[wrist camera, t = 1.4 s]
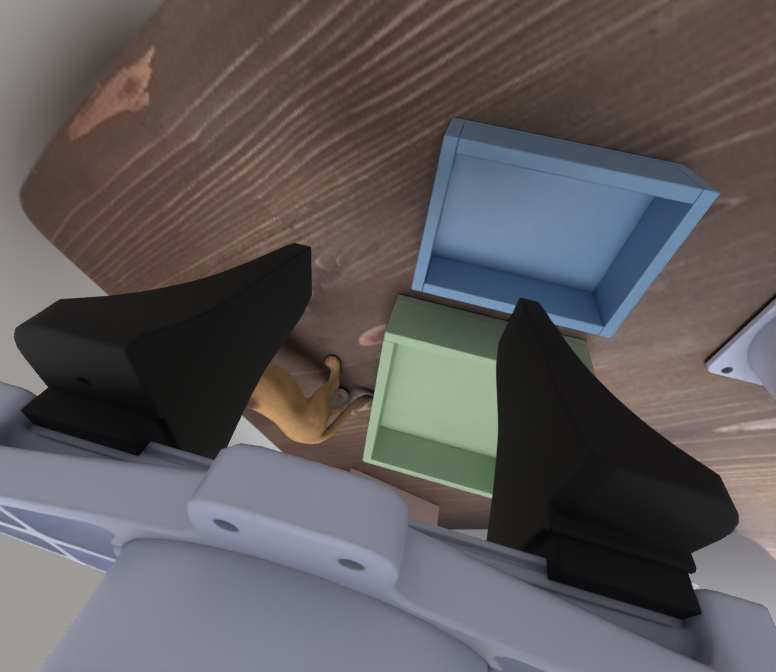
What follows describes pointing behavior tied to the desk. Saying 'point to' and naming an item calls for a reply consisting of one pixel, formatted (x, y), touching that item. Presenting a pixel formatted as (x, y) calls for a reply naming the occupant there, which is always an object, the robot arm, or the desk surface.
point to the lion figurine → (302, 404)
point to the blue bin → (552, 224)
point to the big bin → (440, 395)
